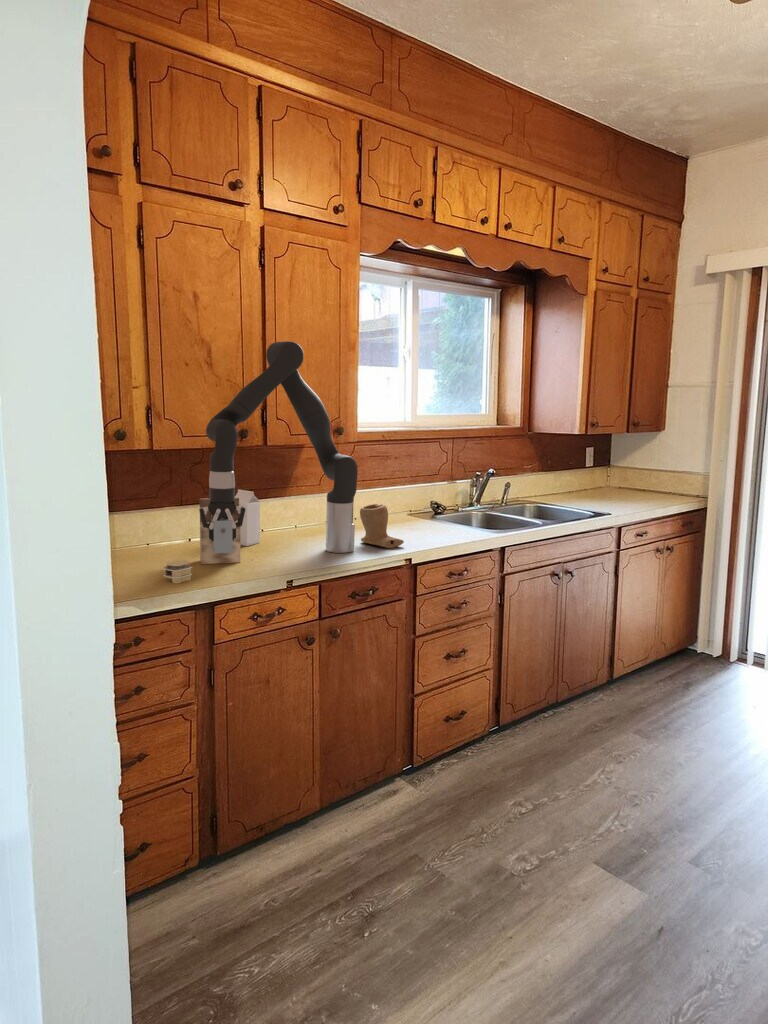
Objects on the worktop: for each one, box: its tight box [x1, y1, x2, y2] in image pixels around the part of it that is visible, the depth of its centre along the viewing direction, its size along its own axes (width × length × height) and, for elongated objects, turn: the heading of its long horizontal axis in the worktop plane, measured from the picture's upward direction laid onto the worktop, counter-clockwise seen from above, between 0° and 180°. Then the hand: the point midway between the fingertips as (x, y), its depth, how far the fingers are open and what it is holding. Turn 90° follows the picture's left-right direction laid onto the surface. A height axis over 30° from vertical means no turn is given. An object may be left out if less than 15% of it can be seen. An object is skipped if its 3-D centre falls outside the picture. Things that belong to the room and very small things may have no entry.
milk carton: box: [235, 489, 261, 547], centre depth 240 cm, size 7×7×19 cm
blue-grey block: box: [211, 515, 233, 553], centre depth 210 cm, size 6×10×10 cm, turn 19°
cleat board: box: [199, 497, 241, 565], centre depth 215 cm, size 12×5×20 cm, turn 109°
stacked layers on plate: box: [163, 559, 193, 584], centre depth 194 cm, size 10×9×6 cm
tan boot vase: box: [359, 503, 404, 549], centre depth 245 cm, size 15×12×15 cm
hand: (222, 540), depth 209 cm, fingers closed on blue-grey block, 5 cm apart
